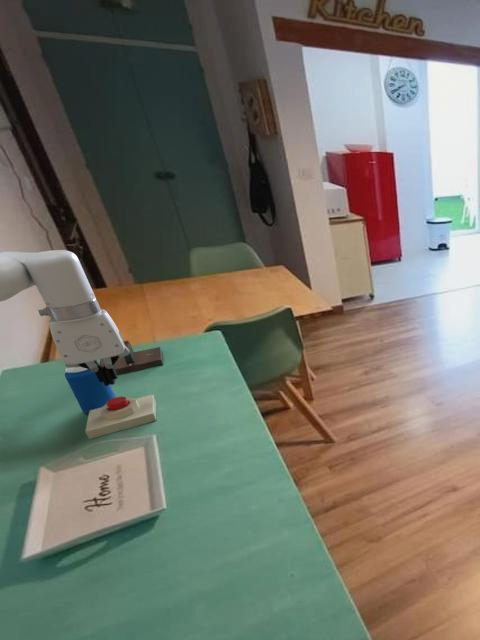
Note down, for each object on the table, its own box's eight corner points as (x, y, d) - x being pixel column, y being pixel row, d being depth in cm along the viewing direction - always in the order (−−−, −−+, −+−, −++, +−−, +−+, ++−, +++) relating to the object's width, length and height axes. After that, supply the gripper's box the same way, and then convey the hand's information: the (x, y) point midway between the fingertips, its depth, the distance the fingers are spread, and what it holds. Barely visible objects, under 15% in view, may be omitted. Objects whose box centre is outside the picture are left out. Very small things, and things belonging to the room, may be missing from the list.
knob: (133, 362, 122) (127, 347, 120) (126, 363, 121) (120, 348, 119) (134, 354, 126) (128, 339, 124) (127, 355, 125) (121, 341, 123)
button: (108, 413, 97) (105, 406, 96) (109, 405, 100) (106, 399, 99) (128, 407, 99) (125, 401, 99) (129, 400, 102) (126, 394, 101)
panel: (100, 379, 117) (97, 372, 116) (103, 364, 124) (100, 358, 123) (163, 365, 125) (160, 358, 124) (162, 352, 132) (160, 346, 131)
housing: (89, 439, 94) (81, 425, 92) (93, 417, 101) (86, 404, 100) (156, 420, 101) (150, 406, 99) (155, 401, 108) (150, 388, 106)
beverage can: (122, 405, 106) (104, 364, 101) (89, 418, 101) (68, 375, 96) (111, 397, 109) (93, 357, 104) (79, 410, 104) (57, 368, 99)
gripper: (21, 323, 82) (63, 401, 90) (120, 307, 90) (151, 379, 98) (28, 312, 87) (68, 386, 95) (122, 297, 96) (151, 366, 104)
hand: (110, 382), depth 97 cm, fingers closed
